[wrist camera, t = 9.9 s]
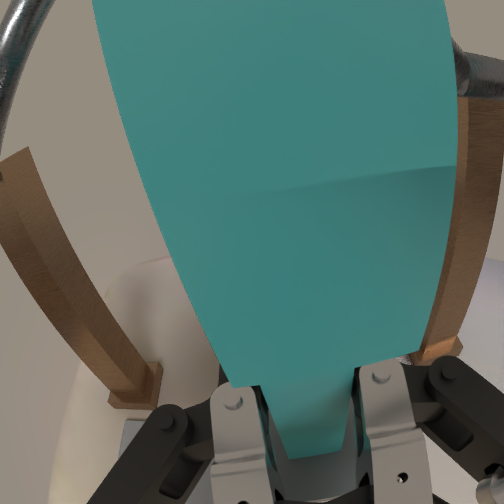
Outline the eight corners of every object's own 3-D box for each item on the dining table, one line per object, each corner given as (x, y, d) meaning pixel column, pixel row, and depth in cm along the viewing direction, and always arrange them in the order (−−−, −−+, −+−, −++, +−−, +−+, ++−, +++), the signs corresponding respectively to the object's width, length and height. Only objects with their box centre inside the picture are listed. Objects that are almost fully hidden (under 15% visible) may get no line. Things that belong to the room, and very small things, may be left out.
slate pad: (227, 421, 20) (226, 419, 20) (227, 529, 13) (226, 529, 13) (127, 421, 21) (125, 420, 21) (112, 513, 14) (110, 513, 14)
